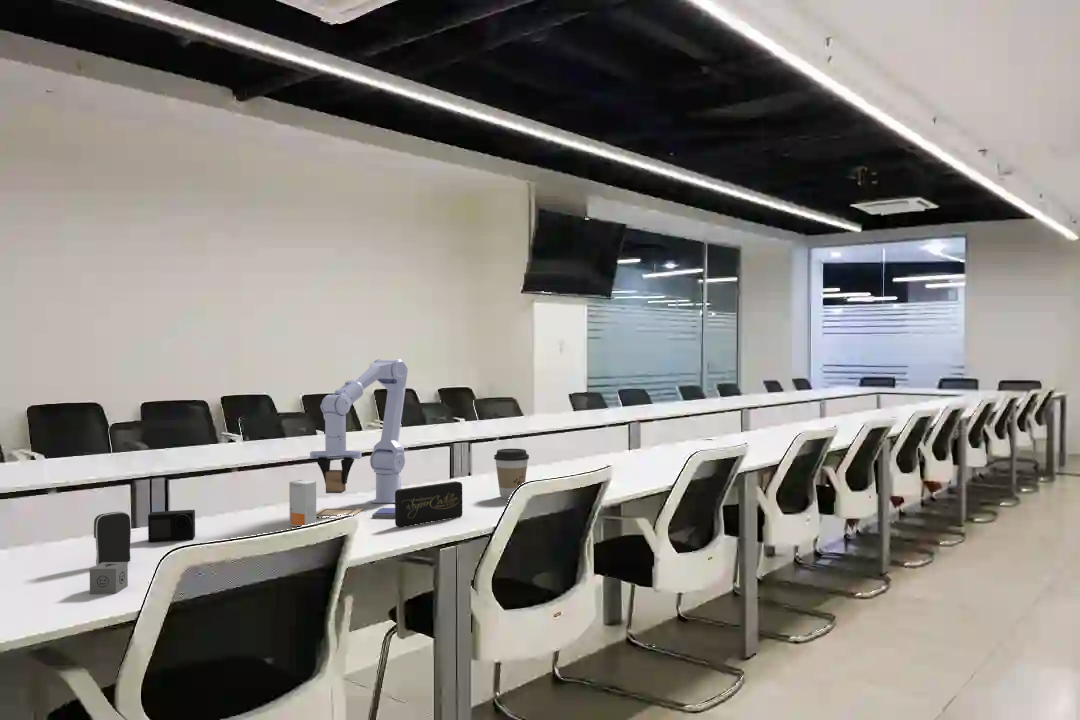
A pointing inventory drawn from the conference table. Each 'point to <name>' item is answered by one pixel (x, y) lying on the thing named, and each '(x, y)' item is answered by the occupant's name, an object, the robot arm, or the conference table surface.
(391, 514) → the ink pad
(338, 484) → the block
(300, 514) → the skincare box
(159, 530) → the digital camera
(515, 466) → the coffee cup
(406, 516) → the nameplate
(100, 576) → the dice cube
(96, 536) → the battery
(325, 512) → the print card
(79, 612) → the conference table surface
